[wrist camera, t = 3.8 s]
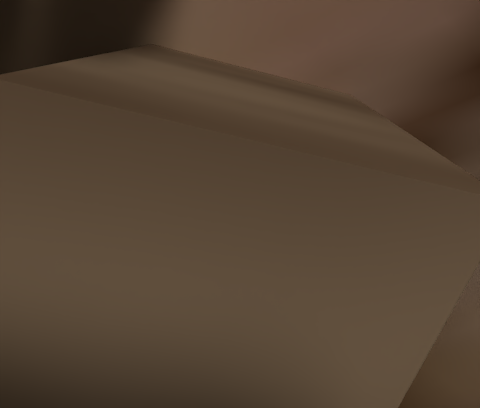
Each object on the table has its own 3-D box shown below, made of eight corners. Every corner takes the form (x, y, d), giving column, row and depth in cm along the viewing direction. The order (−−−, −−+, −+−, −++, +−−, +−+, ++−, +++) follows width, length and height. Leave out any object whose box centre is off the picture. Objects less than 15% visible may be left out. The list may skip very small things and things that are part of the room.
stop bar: (227, 448, 11) (214, 734, 7) (99, 426, 11) (-6, 709, 6) (348, 93, 7) (514, 202, 3) (153, 44, 7) (-12, 76, 3)
